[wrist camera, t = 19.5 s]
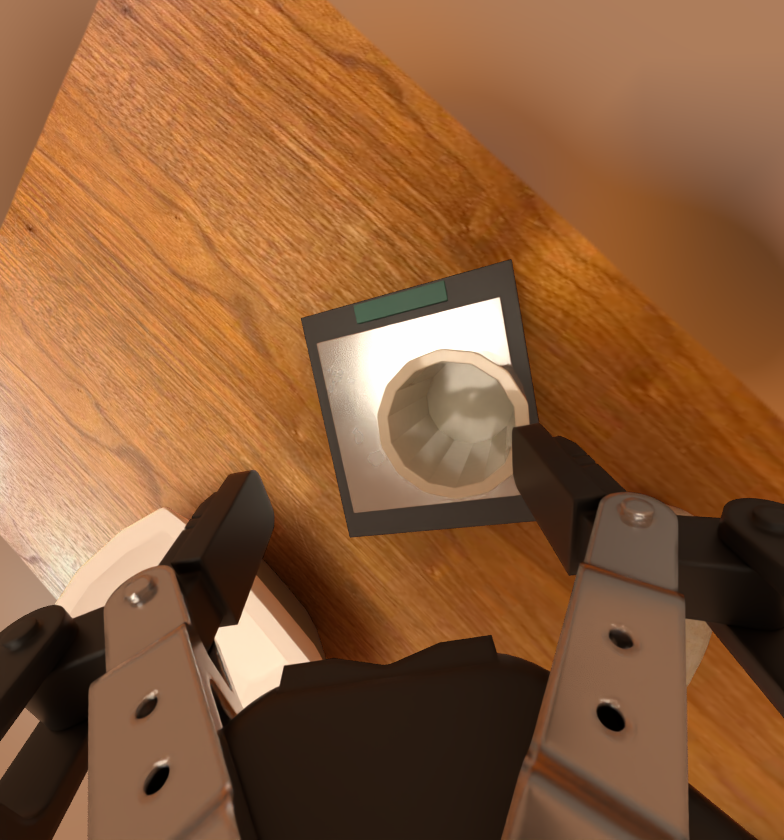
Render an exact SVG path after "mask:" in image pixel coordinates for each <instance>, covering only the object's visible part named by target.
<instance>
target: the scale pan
mask: <svg viewBox="0 0 784 840" xmlns="http://www.w3.org/2000/svg"><path fill="white" fill-rule="evenodd" d="M442 348H467V349H479V350H488V351H490V352H492V353H494V354H496V355H498V356H499V357H501V358H502V359H504V360H505V361H507V362H509V364H511V366H512V361H511V355H510V349H509V343H508V338H507V332H506V326H505V320H504V314H503V309H502V303H501V297H500V296H499V297H495V298H491V299H487V300H483V301H479V302H475V303H471V304H467V305H464V306H460V307H456V308H452V309H448V310H444V311H440V312H436V313H432V314H428V315H425V316H421V317H417V318H413V319H409V320H405V321H401V322H397V323H393V324H389V325H385V326H382V327H378V328H374V329H370V330H366V331H362V332H358V333H354V334H350V335H346V336H343V337H339V338H335V339H331V340H327V341H323V342H319V343H317V349H318V353H319V358H320V362H321V367H322V371H323V376H324V380H325V385H326V389H327V394H328V398H329V403H330V407H331V412H332V416H333V421H334V426H335V430H336V435H337V439H338V444H339V448H340V453H341V457H342V462H343V466H344V471H345V475H346V480H347V484H348V489H349V493H350V498H351V502H352V507H353V511H354V513H360V512H370V511H379V510H388V509H397V508H407V507H416V506H425V505H434V504H443V503H453V502H462V501H471V500H480V499H490V498H499V497H508V496H517V495H521V494H520V493H519V491H518V489H517V487H516V484H515V481H514V477H513V474H512V475H511V476H509V477H508V478H507V479H506V480H504V481H503V482H502V483H501V484H499V485H498V486H497V487H495V488H494V489H493V490H492V491H490V492H488V493H484V494H479V495H475V496H470V497H466V498H461V499H452V498H447V497H443V496H438V495H433V494H429V493H425V492H423V491H421V490H420V489H419V488H417V487H416V486H414V485H413V484H412V483H410V482H409V481H407V480H406V479H404V478H403V477H402V476H400V475H399V474H398V473H397V472H396V470H395V468H394V467H393V465H392V464H391V462H390V460H389V459H388V457H387V455H386V454H385V452H384V451H383V449H382V446H381V442H380V435H379V428H378V420H377V413H378V410H379V406H380V403H381V400H382V396H383V393H384V390H385V387H386V385H387V383H388V382H389V381H390V380H391V379H392V378H393V377H394V376H395V375H396V373H397V372H398V371H399V370H400V369H401V368H402V367H403V366H404V365H405V364H406V363H407V362H408V361H409V360H411V359H414V358H417V357H419V356H422V355H424V354H427V353H430V352H432V351H435V350H437V349H442ZM512 368H513V367H512Z"/></svg>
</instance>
